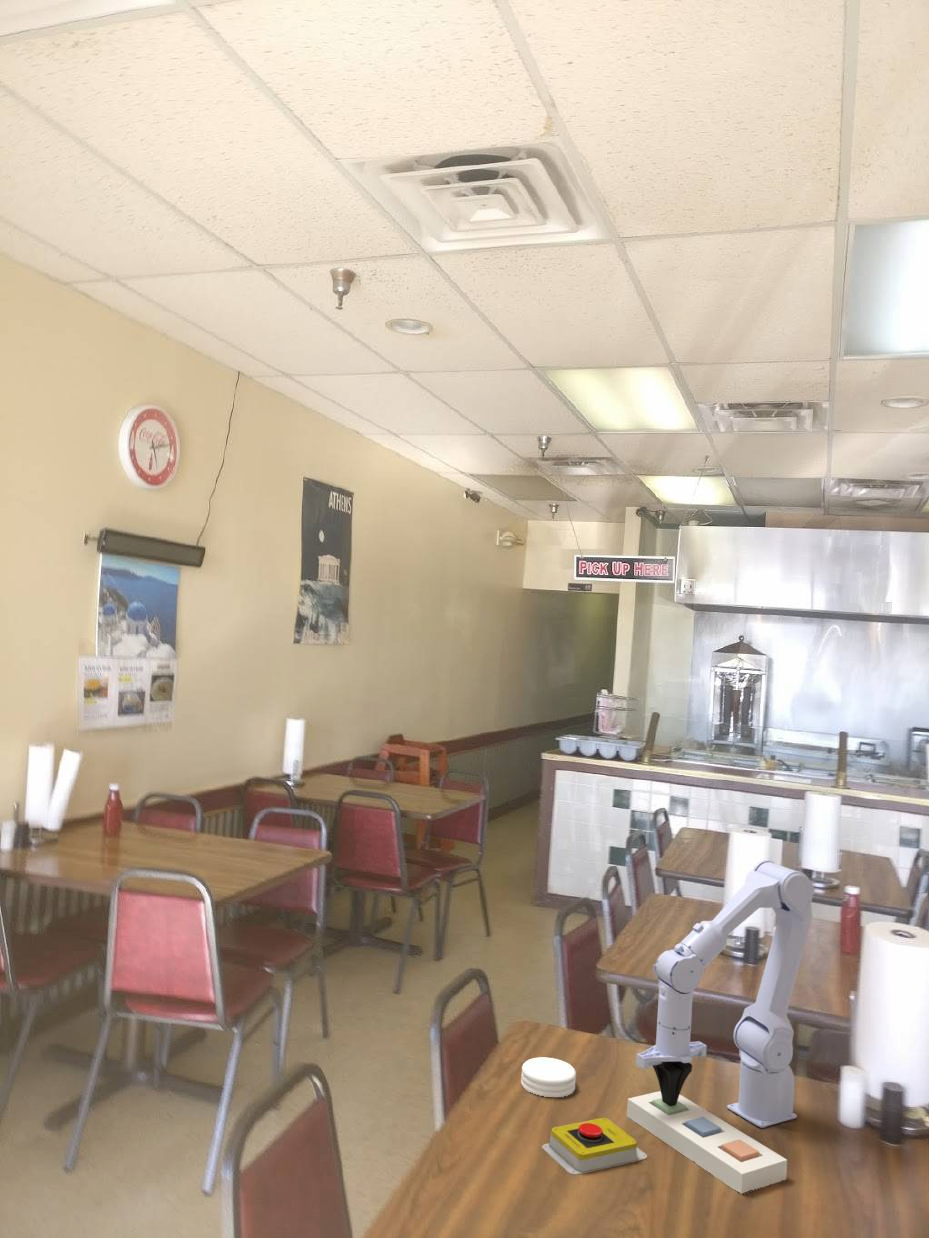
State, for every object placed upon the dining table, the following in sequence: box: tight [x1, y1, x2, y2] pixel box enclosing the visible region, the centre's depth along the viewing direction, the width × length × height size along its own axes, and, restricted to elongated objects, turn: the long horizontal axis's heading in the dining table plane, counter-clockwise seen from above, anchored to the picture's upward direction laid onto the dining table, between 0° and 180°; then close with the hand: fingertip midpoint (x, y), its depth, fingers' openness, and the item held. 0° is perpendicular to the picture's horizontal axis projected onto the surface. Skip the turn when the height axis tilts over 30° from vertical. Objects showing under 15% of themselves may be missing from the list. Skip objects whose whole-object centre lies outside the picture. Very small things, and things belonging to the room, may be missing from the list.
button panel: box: [626, 1090, 788, 1195], centre depth 156 cm, size 10×26×3 cm, turn 31°
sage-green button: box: [652, 1098, 686, 1115], centre depth 163 cm, size 4×4×3 cm
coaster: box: [520, 1056, 577, 1098], centre depth 174 cm, size 10×10×4 cm
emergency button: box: [541, 1117, 648, 1176], centre depth 152 cm, size 9×4×15 cm
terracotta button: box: [722, 1139, 759, 1162], centre depth 149 cm, size 4×4×3 cm
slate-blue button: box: [685, 1117, 721, 1138], centre depth 156 cm, size 4×4×3 cm
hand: (669, 1103), depth 163 cm, fingers closed, pressing on sage-green button
